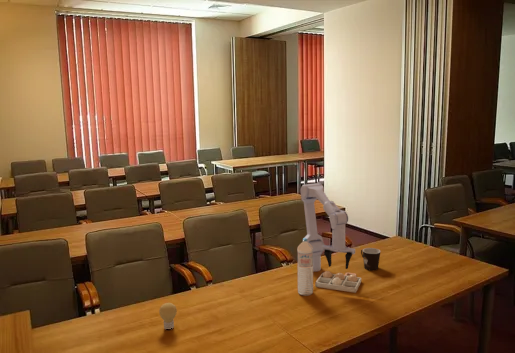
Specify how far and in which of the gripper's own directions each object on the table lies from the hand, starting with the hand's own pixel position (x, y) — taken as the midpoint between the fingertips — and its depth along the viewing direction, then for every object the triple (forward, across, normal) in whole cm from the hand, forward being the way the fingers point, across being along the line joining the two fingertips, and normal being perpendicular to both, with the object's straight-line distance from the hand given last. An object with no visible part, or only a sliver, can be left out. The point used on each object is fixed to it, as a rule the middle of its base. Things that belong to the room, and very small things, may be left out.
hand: (338, 267), depth 197 cm
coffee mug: (+10, +10, +28) cm, 31 cm away
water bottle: (+10, -12, -10) cm, 19 cm away
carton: (+10, 0, +2) cm, 10 cm away
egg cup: (+10, +3, +13) cm, 16 cm away
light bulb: (+10, -51, -59) cm, 78 cm away
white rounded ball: (+9, 0, -1) cm, 9 cm away
